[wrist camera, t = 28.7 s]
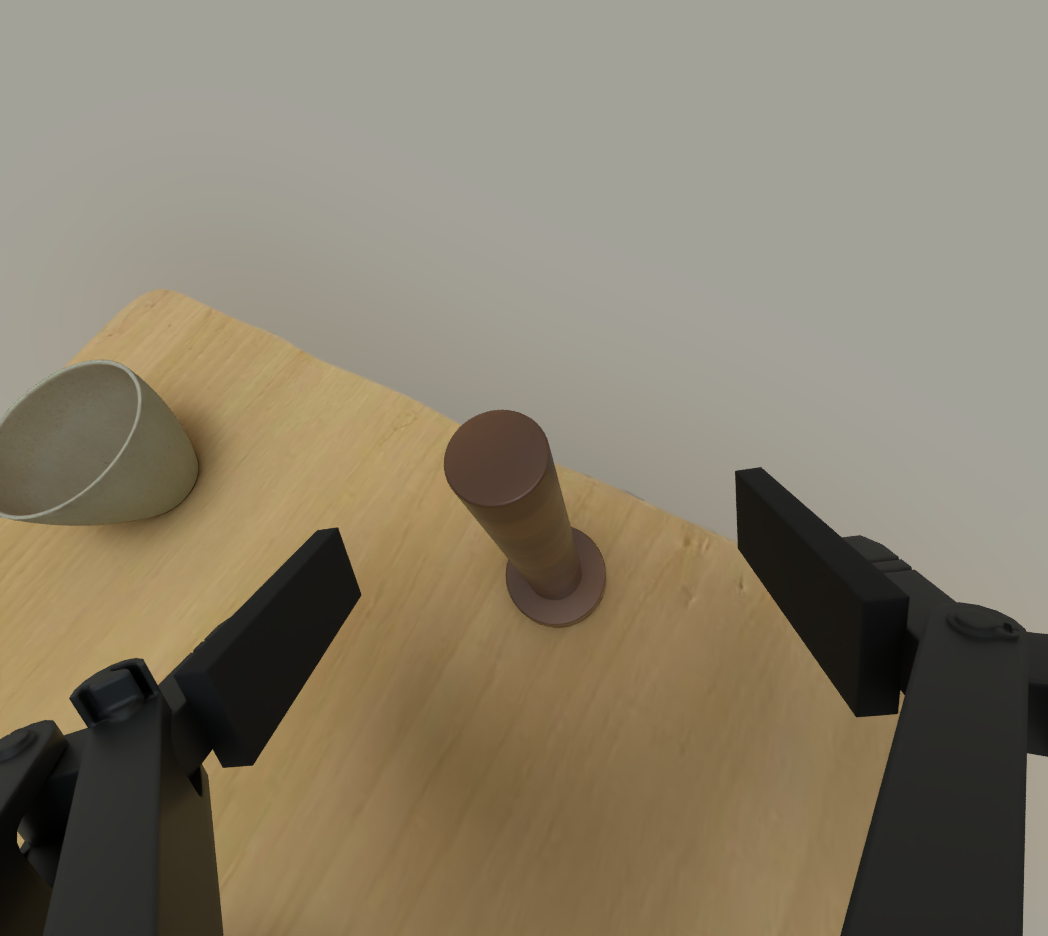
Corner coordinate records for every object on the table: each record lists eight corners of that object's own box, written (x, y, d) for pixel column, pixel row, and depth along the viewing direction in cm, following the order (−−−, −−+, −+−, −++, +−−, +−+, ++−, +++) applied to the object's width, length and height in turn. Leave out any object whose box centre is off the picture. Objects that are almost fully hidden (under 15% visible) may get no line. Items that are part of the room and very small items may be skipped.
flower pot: (123, 428, 36) (16, 371, 29) (245, 411, 35) (161, 348, 28) (77, 559, 32) (-60, 527, 25) (213, 546, 30) (106, 508, 24)
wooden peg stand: (624, 562, 26) (636, 421, 12) (572, 648, 24) (519, 598, 11) (544, 514, 28) (476, 345, 14) (491, 591, 26) (360, 488, 13)
